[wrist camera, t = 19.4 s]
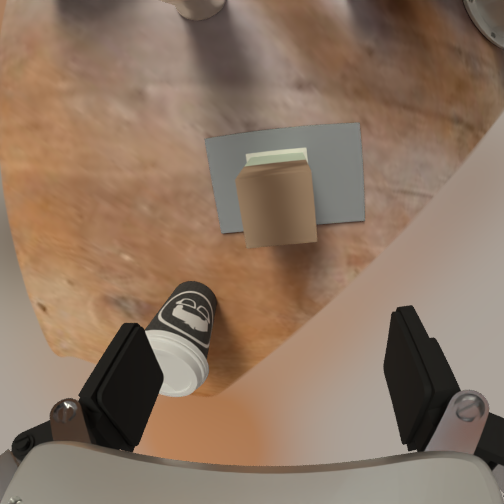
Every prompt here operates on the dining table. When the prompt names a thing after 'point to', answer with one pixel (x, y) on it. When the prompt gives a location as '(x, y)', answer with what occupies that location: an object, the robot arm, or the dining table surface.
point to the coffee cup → (183, 338)
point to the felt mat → (317, 156)
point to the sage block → (275, 158)
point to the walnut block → (277, 204)
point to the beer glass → (197, 8)
